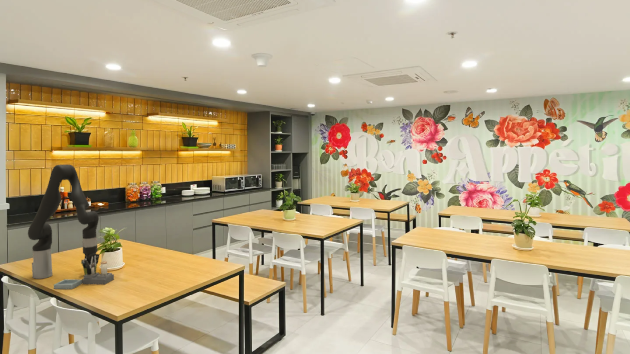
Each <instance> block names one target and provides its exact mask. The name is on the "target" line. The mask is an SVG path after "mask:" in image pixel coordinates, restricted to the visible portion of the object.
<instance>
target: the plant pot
mask: <svg viewBox="0 0 630 354" xmlns="http://www.w3.org/2000/svg"><path fill="white" fill-rule="evenodd" d="M80 264H81V266H82V268H83V274H84V275H86V274H87V268H84V267H83V264H82V262H81V263H80ZM85 266H86V265H85ZM95 268H96V269H97V268H98V264H96V266H95ZM94 273H97V271H96V272H94Z"/></svg>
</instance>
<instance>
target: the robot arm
mask: <svg viewBox="0 0 630 354" xmlns="http://www.w3.org/2000/svg"><path fill="white" fill-rule="evenodd" d="M77 172H78V171H77V170H76V168H75V167H74V166H73V165H72V164H56V165H54V166H53V168H52V170H51V172H50V176H49V179H48V184H47V187H46V189H45V192H44V194H43V197H42V199H41V202H40V204H39V207H38V209H37V212H36V215H35V216H34V218H33V220H32V222H31V224H30V225H29V228H28V231H27V235H28V238H29V239H30V240H31V241H37V242H36V243H35V244H33V246H32V249H31V250H32V260H33V261H32V262H31V271H32V275H31V276H32V279H37V280H38V279H40V280H41V279H46V278H50V277H52V276H53V262H52V260H53V259H52V244H53V230H52V229H53V228H52V226H51V225H50V224H49V223H47V221H48V220H49V219H50V218H51V217H52V216H53V215H54V214H55V213H56V212H57V210H58V209H59V208H60V205H61V202H62V195H61V192H60V185H61V183H62V182H63V181H68V182H69V184H70V186H71V187H70V188H71V192H70V198H71V201H72V204H73V205H74V207H75V210H76V215H77V220H78V222H79V223H80V224H81V225H84V226H85V225H86V227H84V228H83V229H82V231H81V232H82V254H83V255H84V258H83V259H81V260H80V261H81V262H82V264H83V266H82V268H83V267H84V268H87V274H88V275H90V274H91V264H92V261H94V272H96V273H97V268H95V266H96V264H97V265H98V264H99V260H100V259H99V258H100V253H98V252H99V251H98V239H97V227H98V225H99V221H100V217H99V214H98V213H97V211H94V210H90V211H86V209H88V208H89V207H90V203H89V201H88V199H87V197H86V195H85V194H84V191H83V189H82V185H81V182H80V178H79V176H78V173H77ZM88 262H90V263H88ZM82 264H81V265H82ZM88 264H89V265H88ZM85 265H86V266H85Z"/></svg>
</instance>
